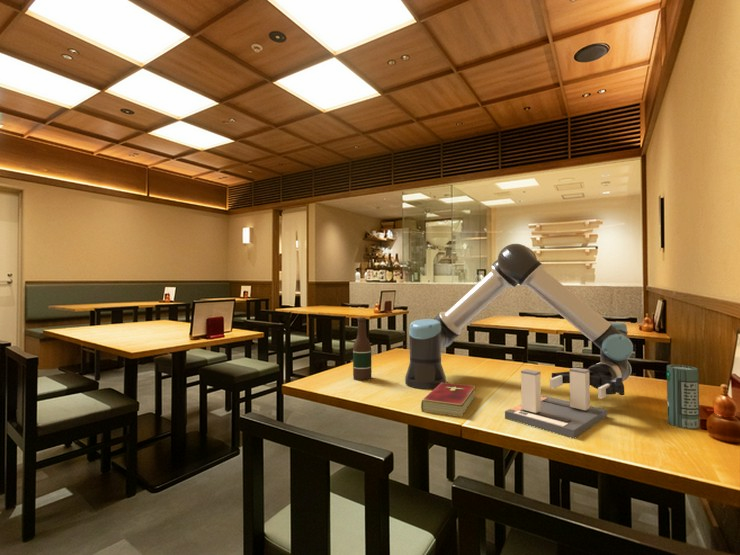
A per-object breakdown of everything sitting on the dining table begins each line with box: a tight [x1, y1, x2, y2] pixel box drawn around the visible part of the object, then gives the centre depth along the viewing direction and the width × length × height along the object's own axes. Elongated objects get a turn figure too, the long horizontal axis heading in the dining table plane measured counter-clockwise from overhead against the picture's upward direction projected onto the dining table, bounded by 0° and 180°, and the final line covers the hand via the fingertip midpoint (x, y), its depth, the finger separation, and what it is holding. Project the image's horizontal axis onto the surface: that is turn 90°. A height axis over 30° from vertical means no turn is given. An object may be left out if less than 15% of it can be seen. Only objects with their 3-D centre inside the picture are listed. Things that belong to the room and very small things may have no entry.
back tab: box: [569, 367, 591, 410], centre depth 105 cm, size 4×3×11 cm
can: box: [666, 364, 701, 430], centre depth 99 cm, size 6×6×15 cm
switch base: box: [504, 368, 608, 439], centre depth 105 cm, size 18×22×13 cm
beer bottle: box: [352, 316, 372, 381], centre depth 150 cm, size 8×8×24 cm
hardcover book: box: [420, 382, 477, 417], centre depth 117 cm, size 12×21×4 cm, turn 154°
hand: (574, 388), depth 103 cm, fingers open, 12 cm apart
